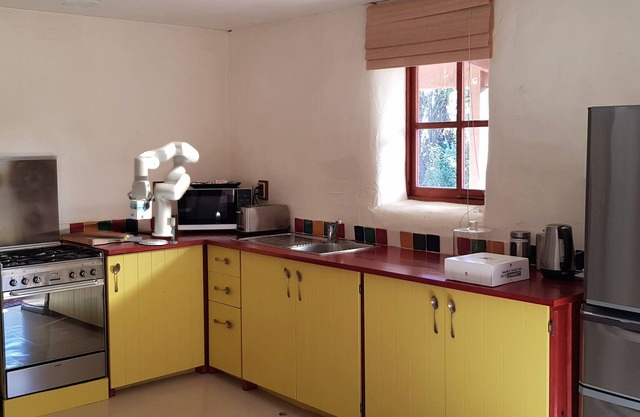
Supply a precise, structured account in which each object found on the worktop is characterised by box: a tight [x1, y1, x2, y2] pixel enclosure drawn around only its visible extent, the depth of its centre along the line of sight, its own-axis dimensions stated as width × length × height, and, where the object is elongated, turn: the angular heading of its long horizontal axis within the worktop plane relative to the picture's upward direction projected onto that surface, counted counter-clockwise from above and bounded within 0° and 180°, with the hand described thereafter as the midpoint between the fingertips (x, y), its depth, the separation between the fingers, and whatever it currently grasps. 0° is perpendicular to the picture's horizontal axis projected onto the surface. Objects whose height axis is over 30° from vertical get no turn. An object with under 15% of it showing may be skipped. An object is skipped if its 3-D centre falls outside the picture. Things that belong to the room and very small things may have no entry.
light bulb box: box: [129, 198, 152, 220], centre depth 434 cm, size 11×7×11 cm, turn 143°
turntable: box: [123, 234, 169, 246], centre depth 424 cm, size 16×26×3 cm, turn 74°
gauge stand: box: [167, 217, 178, 245], centre depth 427 cm, size 4×5×15 cm
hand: (140, 208), depth 434 cm, fingers closed on light bulb box, 8 cm apart
